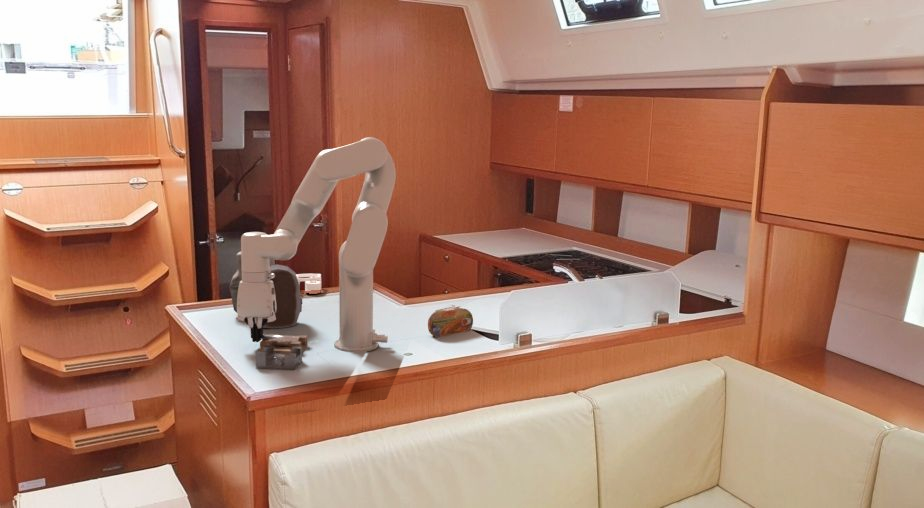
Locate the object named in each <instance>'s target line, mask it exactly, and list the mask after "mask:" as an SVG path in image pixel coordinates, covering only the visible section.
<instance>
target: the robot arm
mask: <svg viewBox="0 0 924 508" xmlns="http://www.w3.org/2000/svg"><path fill="white" fill-rule="evenodd" d="M363 174H365V175H364V181H363V185H362V188H361V191H360V193H359V194H360V195H359V198H358V200H357V203H356V206H355V208H354V211H353V212H352V214H351V215H352V216H351V226H350V229H349V231H348V235H347V239H346V240H345V241H344V242H343V243H342V244H341V246H340V248H339V252H338V269H339V271H338V272H339V277H338V278H339V284H338V285H339V298H338V299H339V301H338V303H339V314H338V315H339V318H338V319H339V326H338V327H339V329H338V330H339V339H336V340H335V341H334V343H333V347H334V348H335V349H337V350H339V351H344V352H350V353H351V352H370V351H373V350H375V349H377V348H378V347H379V343H383V344H384V343H385V344H388V340H389V337H388V335H385V334H381V333H380V334H378V333H376V329H374V324H373V323H374V268H375V266H376V263H377V262H378V258H379V255H380V252H381V249H382V247H383V243H384V241H385V238H386V234H387V230H388V224H389V220H388V215H387V212H388V209H389V207H390V203H391V200H392V195H393V194H394V193H393V192H394V189H395V184H396V178H397V177H396V175H397V173H396V166H395V163H394V159H393V157H392V155H391V154H390V151H388V148H387V146H386V144H385V143H384V142H383V141H382V140H381V139H378V138H376V137H373V136H369V137H364V138H362V139H360V140H358V141H354V142H353V143H349V144H347V145H343V146H338V147H335V148H325V149H323V150H321V151H320V152H319V153H318V154H317V156H315V159H314V160H313V162H312V164H311V166H310V168H309V169H308V170H307V172H306V174H305V176H304V177H303V180H302V181H301V183H300V185H299V186H298V188H297V190H296V191H295V194H294V195H293V197H292V199H291V203H290V204H289V206H288V208H287V210H286V212H285V213H284V215H283V217H282V218H281V221H280V223H279V224H278V225H277V227H276V229H275V231H274V233H273V234H267V233H266V232H263V231H262V232H261V231H249V232H245V233H243V234H242V235H241V236H240V250H241V261H242V280H241V281H240V283H239V288H238V296H237V312H236V314H237V315H236V316H237V317H236V319H237V321H241V322H245V324H246V325H248V328H250V338H251V339H252V340H251V341H252V343H260V342H261V341H262V337H263V335H264V328H263V326H264V325H265V324H266V323H267V322H272V321H275V320H276V316H275V313H276V309H277V308H276V296H275V289H274V284H273V281H270V279H271V278H275V274H274V273H271V272H270V266H271V265H270V261H271V260H274V261H275V260H276V261H288V260H291V259H292V258H293V257H294V256H295V255H296V254H297V251H298V246H299V243H300V242H301V240H302V238H303V236H304V235H305V233H306V232H307V230H308V228H309V226H310V225H311V224H312V222H313V221H314V219H315V218H316V217H317V216H318V215H319V214H321V212H322V210H323V209H324V207H325V205H326V203H327V202H328V200H329V199H330V197H331V195H332V193H333V191H334V189H335V188H336V186H337V185H338V183H339V181H341V180H346V179H349V178H352V177H355V176H359V175H363ZM257 318H258V321H257Z"/></svg>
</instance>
